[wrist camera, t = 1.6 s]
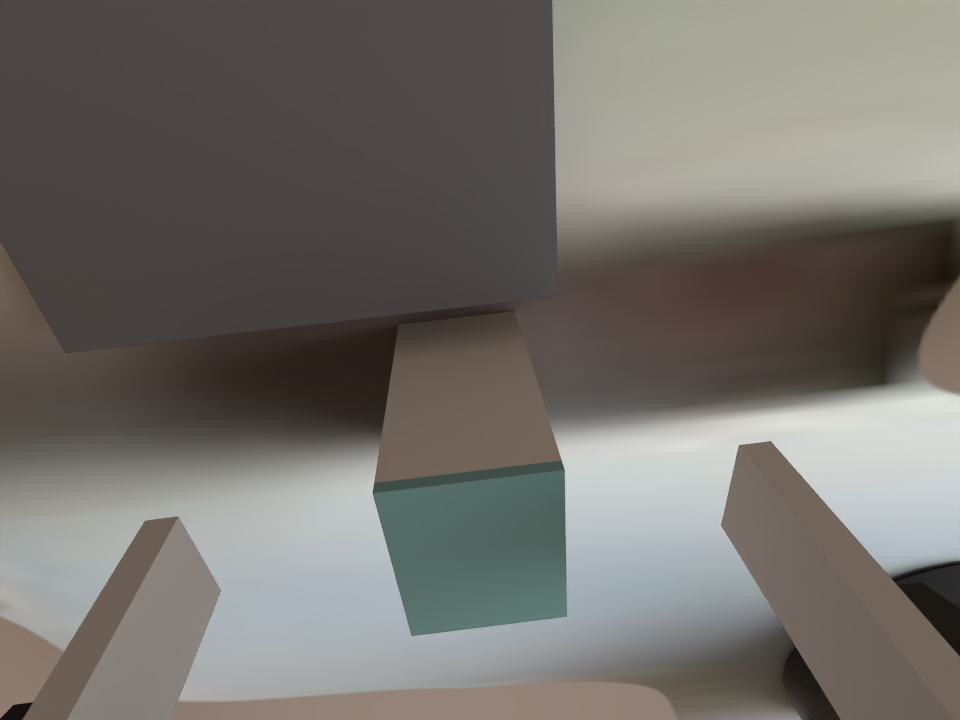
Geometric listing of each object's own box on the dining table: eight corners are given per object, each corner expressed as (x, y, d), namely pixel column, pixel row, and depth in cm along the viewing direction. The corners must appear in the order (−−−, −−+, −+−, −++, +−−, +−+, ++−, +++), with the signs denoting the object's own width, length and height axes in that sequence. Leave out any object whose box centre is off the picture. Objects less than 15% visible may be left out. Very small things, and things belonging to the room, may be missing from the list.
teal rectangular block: (522, 426, 20) (566, 616, 13) (420, 438, 20) (411, 636, 13) (514, 311, 18) (564, 469, 11) (398, 324, 17) (373, 493, 11)
